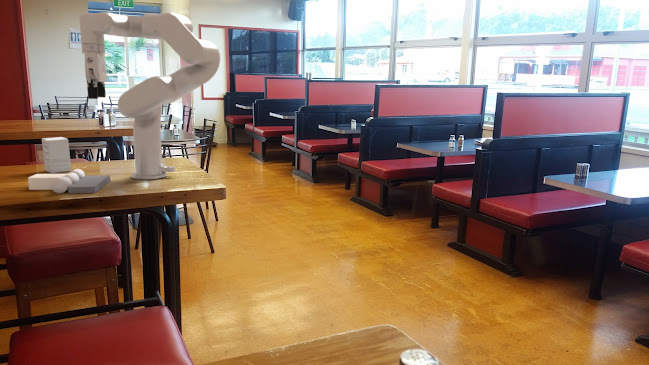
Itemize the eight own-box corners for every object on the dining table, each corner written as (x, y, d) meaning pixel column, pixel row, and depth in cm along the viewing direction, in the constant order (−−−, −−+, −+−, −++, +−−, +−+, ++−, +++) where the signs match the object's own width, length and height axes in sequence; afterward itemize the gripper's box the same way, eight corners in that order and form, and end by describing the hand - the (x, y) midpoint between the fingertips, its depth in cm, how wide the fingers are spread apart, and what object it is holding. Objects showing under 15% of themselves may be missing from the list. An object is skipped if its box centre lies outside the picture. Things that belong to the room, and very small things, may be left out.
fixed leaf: (110, 180, 174) (109, 168, 173) (95, 192, 157) (94, 179, 156) (72, 181, 172) (70, 168, 172) (52, 193, 155) (50, 179, 154)
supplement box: (65, 168, 194) (62, 136, 192) (71, 171, 189) (68, 138, 186) (44, 170, 189) (41, 138, 186) (50, 173, 184) (47, 140, 181)
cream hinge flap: (79, 185, 167) (78, 172, 167) (73, 189, 161) (71, 176, 160) (37, 185, 166) (36, 172, 165) (29, 189, 159) (27, 176, 158)
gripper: (97, 48, 168) (101, 99, 172) (111, 50, 185) (114, 96, 189) (74, 48, 167) (78, 99, 171) (89, 50, 184) (93, 96, 188)
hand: (97, 97), depth 180 cm, fingers open, 9 cm apart
